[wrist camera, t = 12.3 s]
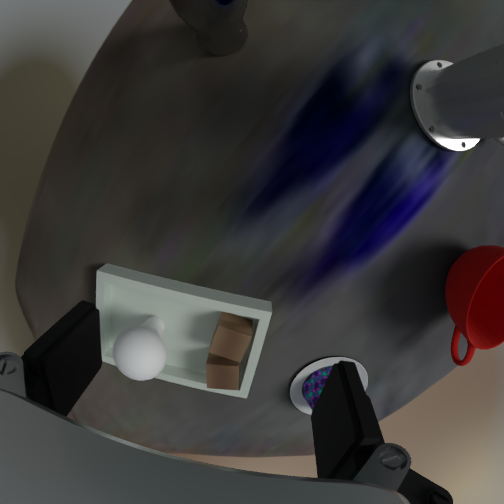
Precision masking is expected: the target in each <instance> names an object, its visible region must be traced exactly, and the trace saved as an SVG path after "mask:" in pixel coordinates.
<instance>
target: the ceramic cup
mask: <svg viewBox="0 0 504 504" xmlns="http://www.w3.org/2000/svg"><path fill="white" fill-rule="evenodd" d="M445 297H446V304H447V308H448V311H449V313H450V316H451V318H452V320H453V321H454V323H455V329H454V332H453V337H452V342H451V355H452V359H453V361H454V363H455V364H457V365H459V366H464V365H466V364H468V363H469V362H470V360H471V359H472V356H473V354H474V351H475V347H476V348H479V349H490V348H493V347H496V346H498V345H500V344H501V343H502V342H504V248H503V247H499V246H479V247H476V248H473V249H470V250H469V251H467V252H465V253H464V254H463V255H461V256H460V257H459V258H458V259H457V260H456V261H455V262H454V263H453V265H452V266H451V268H450V270H449V272H448V276H447V281H446V287H445ZM460 333H462V334H463V335H464V337H465V338H466V339H467V343H468V348H467V353H466V355H465V357H464V359H463V360H462V361H461V360H460V358H459V356H458V342H459V337H460Z"/></svg>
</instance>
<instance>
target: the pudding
mask: <svg viewBox="0 0 504 504" xmlns="http://www.w3.org/2000/svg"><path fill="white" fill-rule="evenodd" d="M340 360H343V361H350V362H355V364H356V367H357V370H358V373H359V375H360V378H361V381H362V384H363V387H364V390H366V388H367V384H368V376H367V372H366V370H365V368H364V367H363V366H362V365H361V364H360V363H358V362H357V361H355V360H352V359H350V358H345V357H331V358H326V359H322V360H319V361H317V362H314V363H312V364H310V365H309V366H307V367H306V368H304V369H303V370H302V371H301V372H300V373H299V374H298V375H297V376H296V377H295V379H294V380H293V382H292V384H291V388H290V397H291V400H292V402H293V404H294V405H295V407H296V408H298V409H299V410H300V411H302V412H304V413H306V414H309V415H311V414H312V410H313V408H314V406H315V404H316V402H317V400H318V398H319V395H320V393H321V391H322V389H323V387H324V385H325V382H326V380H327V378H328V376H329V374H330V371H331V369H332V367H333V366H331V365H334V364H335V363H338V362H339V361H340ZM326 366H330V367H328V368H327V369H326V370H318V369H320V368H322V367H326ZM316 370H317V371H316ZM314 371H315V372H314ZM313 372H314V373H313ZM311 373H313V374H312V375H311V379H309V380H307V381H305V379H306V378H307V377H308V376H309V375H310V374H311ZM304 381H305V383H304ZM303 383H304V384H303ZM302 385H303V389H304V390H305V393H304V394H303V395H304V397H303V395H302ZM304 398H305V399H304Z"/></svg>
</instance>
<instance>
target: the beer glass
mask: <svg viewBox="0 0 504 504" xmlns="http://www.w3.org/2000/svg"><path fill="white" fill-rule="evenodd" d="M169 1H170V3H171V5H172V7H173V9H174V10H175V12H176V13H177V15H178V16H179V17H180V18H181V19H182V20H183V21H184V22H185V23H186V24H187V25H188V26H189V27H191V28H192V29H193V30H194V31H195V32H196V37H197V42H198V45H199V46H200V48H201V49H202V50H204V51H205V52H207V53H209V54H212V55H216V56H223V55H229V54H232V53H234V52H236V51H237V50H239V49H240V48H241V47H242V46H243V45H244V43H245V42H246V39H247V35H248V31H247V27H246V25H245V23H244V21H243V17H244V14H245V11H246V8H247V3H248V0H169Z"/></svg>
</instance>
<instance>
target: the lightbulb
mask: <svg viewBox="0 0 504 504" xmlns="http://www.w3.org/2000/svg"><path fill="white" fill-rule="evenodd" d="M164 328H165V325H164V322H163V321H162V320H161V319H160V318H158V317H150V318H149V319H148V320H147V321H146V322H145V323H143V324H142V325H141V326H136V327H130V328H128V329H126V330H124V331H123V332H121V333H120V334H119V336H118V337H117V338H116V340H115V342H114V346H113V358H114V361H115V364H116V366H117V367H118V369H119V370H120V371H121V372H122V373H123V374H124V375H125V376H127V377H129V378H131V379H134V380H140V381H143V380H149V379H152V378H154V377H155V376H157V375H158V374H159V373H160V372H161V371H162V370H163V368H164V366H165V363H166V360H167V351H166V347H165V344H164V342H163V340H162V339H163V331H164Z"/></svg>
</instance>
